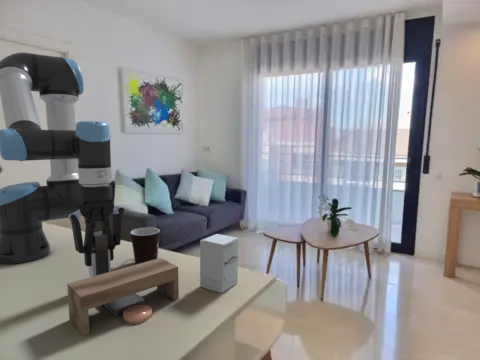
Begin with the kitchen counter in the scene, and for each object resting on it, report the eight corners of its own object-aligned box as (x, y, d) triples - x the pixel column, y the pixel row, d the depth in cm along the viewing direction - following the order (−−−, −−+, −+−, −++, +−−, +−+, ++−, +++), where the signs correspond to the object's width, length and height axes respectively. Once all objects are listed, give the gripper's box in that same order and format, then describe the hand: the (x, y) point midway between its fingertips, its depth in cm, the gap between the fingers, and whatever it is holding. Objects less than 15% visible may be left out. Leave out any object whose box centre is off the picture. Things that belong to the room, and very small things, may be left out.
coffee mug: (152, 269, 97) (151, 236, 96) (126, 266, 99) (124, 234, 98) (169, 255, 109) (168, 225, 108) (144, 253, 110) (143, 224, 109)
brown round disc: (116, 321, 70) (116, 316, 70) (134, 307, 76) (134, 302, 76) (141, 326, 68) (141, 321, 68) (157, 312, 74) (157, 307, 74)
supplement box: (222, 294, 83) (222, 244, 81) (199, 286, 86) (199, 239, 85) (238, 283, 89) (239, 237, 87) (216, 276, 93) (216, 232, 91)
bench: (69, 319, 70) (67, 283, 69) (161, 287, 86) (160, 257, 85) (83, 336, 65) (81, 297, 64) (178, 298, 80) (178, 266, 79)
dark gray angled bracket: (83, 288, 85) (80, 234, 83) (110, 280, 90) (108, 229, 88) (115, 315, 72) (112, 252, 70) (144, 304, 76) (142, 245, 75)
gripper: (65, 189, 74) (71, 289, 77) (133, 183, 85) (136, 270, 88) (55, 186, 80) (61, 279, 82) (120, 180, 91) (123, 263, 94)
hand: (100, 275), depth 85 cm, fingers closed on dark gray angled bracket, 3 cm apart
